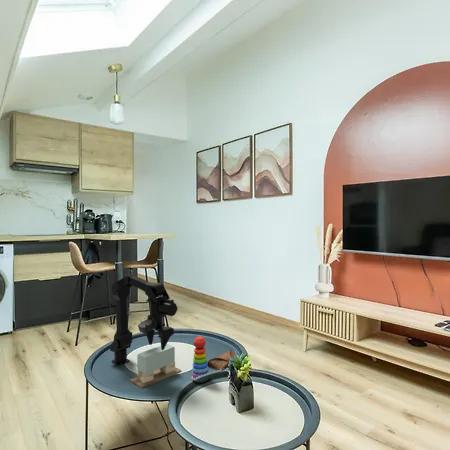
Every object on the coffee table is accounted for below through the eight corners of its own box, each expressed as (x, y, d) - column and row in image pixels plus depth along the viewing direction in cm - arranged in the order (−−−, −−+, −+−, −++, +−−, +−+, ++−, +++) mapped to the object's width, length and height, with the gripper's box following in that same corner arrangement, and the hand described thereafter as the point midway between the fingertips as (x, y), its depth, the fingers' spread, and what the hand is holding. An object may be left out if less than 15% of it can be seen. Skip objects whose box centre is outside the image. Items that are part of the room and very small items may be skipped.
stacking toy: (210, 376, 148) (210, 334, 148) (208, 384, 140) (208, 340, 140) (193, 375, 148) (193, 333, 148) (189, 383, 141) (189, 340, 140)
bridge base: (130, 381, 143) (130, 370, 143) (169, 365, 158) (169, 356, 158) (141, 388, 137) (141, 377, 137) (181, 371, 152) (181, 361, 152)
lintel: (137, 370, 144) (137, 354, 143) (166, 358, 156) (166, 343, 156) (145, 374, 140) (145, 357, 140) (174, 361, 152) (174, 346, 152)
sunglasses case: (220, 371, 152) (214, 357, 154) (210, 375, 155) (205, 361, 158) (243, 359, 166) (237, 346, 168) (233, 363, 170) (228, 350, 172)
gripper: (129, 312, 148) (129, 346, 148) (153, 320, 135) (153, 358, 136) (150, 307, 156) (150, 340, 156) (174, 314, 144) (175, 350, 144)
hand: (156, 347), depth 148 cm, fingers open, 9 cm apart
